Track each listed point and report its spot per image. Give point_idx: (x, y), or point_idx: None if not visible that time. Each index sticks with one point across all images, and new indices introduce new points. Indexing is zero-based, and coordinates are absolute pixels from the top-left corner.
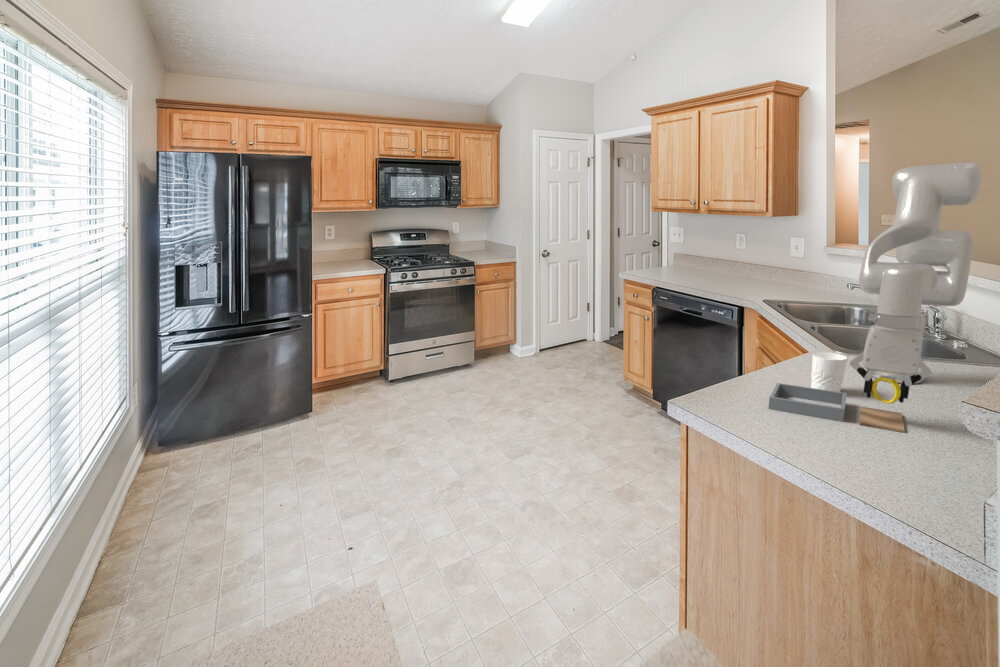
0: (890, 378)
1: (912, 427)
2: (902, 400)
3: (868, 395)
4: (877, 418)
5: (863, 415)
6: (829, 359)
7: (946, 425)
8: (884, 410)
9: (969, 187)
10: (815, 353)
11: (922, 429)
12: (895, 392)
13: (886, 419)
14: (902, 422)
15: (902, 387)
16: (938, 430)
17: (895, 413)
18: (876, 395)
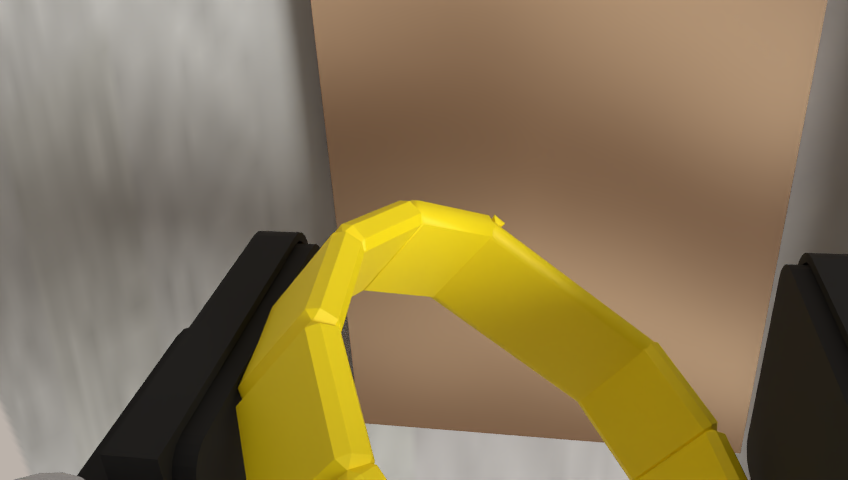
0: None
1: (245, 92)
2: (262, 244)
3: (838, 273)
4: (597, 126)
5: (760, 156)
6: None
7: (24, 313)
8: (509, 429)
9: None
10: None
11: (157, 81)
12: (340, 284)
13: (497, 143)
14: (333, 124)
15: (185, 438)
16: (39, 135)
17: (410, 388)
18: (653, 418)
